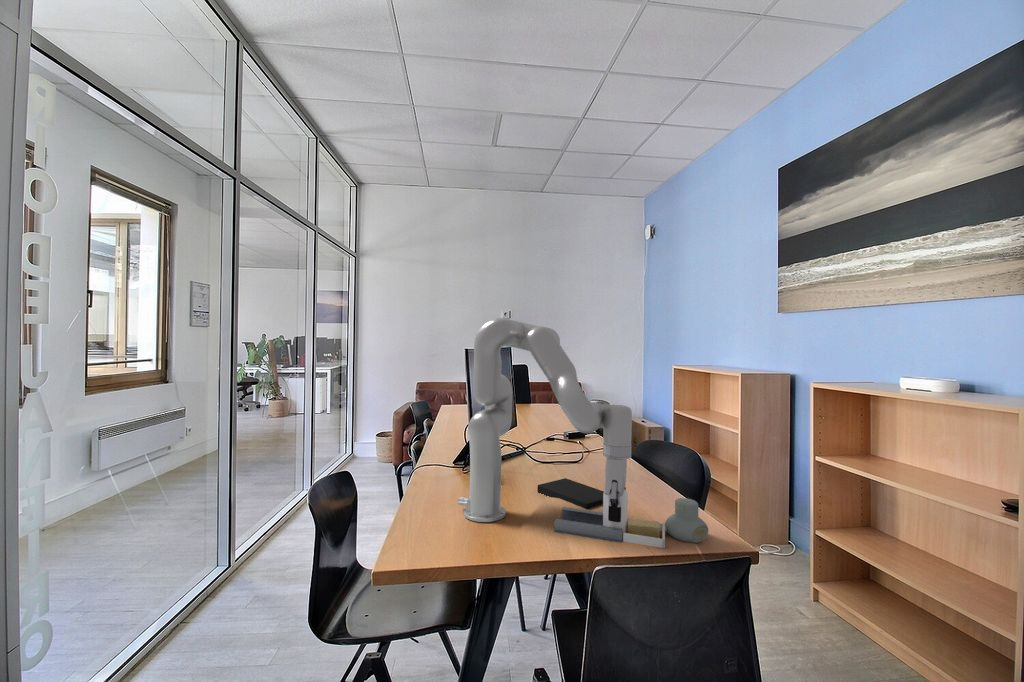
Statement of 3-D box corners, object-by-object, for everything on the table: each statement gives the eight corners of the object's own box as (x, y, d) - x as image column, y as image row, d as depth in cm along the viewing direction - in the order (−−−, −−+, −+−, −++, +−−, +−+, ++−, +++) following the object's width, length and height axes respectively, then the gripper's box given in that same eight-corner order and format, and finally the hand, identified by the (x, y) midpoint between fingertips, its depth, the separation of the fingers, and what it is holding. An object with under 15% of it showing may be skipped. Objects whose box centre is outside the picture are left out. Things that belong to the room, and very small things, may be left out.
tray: (623, 545, 111) (623, 533, 111) (626, 528, 122) (626, 517, 122) (664, 552, 108) (664, 540, 108) (664, 534, 118) (664, 523, 118)
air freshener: (685, 529, 122) (685, 493, 122) (712, 540, 115) (712, 502, 115) (660, 537, 116) (660, 500, 117) (687, 549, 109) (687, 510, 110)
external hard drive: (565, 486, 160) (566, 478, 160) (616, 504, 142) (616, 495, 142) (537, 493, 151) (537, 484, 151) (587, 513, 133) (587, 504, 133)
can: (611, 524, 122) (612, 481, 122) (631, 531, 117) (632, 487, 117) (598, 530, 118) (598, 486, 118) (618, 538, 113) (618, 492, 113)
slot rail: (553, 535, 116) (553, 522, 116) (564, 517, 129) (564, 506, 129) (621, 546, 110) (621, 532, 110) (625, 527, 123) (625, 514, 123)
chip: (643, 541, 113) (643, 525, 113) (643, 534, 117) (643, 520, 117) (659, 543, 112) (659, 527, 112) (659, 537, 115) (659, 522, 116)
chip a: (627, 538, 114) (627, 523, 114) (628, 532, 118) (628, 517, 118) (643, 540, 113) (643, 525, 113) (643, 534, 117) (643, 519, 117)
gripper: (607, 443, 127) (606, 503, 127) (598, 456, 111) (597, 526, 110) (633, 445, 124) (632, 507, 124) (628, 459, 108) (627, 531, 108)
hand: (616, 515), depth 117 cm, fingers closed on can, 6 cm apart
